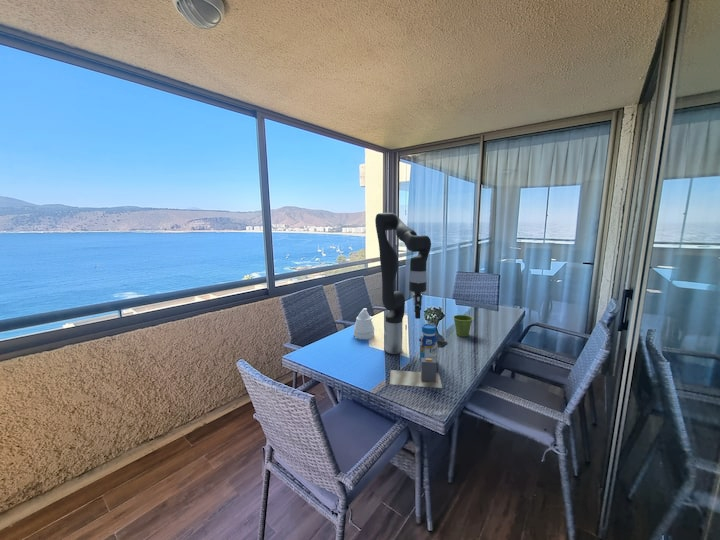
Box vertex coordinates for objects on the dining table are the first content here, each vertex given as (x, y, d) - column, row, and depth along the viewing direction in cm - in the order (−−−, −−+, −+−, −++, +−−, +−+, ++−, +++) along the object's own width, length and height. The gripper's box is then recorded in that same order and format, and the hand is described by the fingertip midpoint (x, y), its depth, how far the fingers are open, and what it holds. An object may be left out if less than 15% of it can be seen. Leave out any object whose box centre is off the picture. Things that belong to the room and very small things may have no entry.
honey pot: (377, 337, 178) (377, 309, 175) (358, 341, 173) (357, 312, 170) (369, 330, 190) (369, 304, 187) (350, 333, 185) (350, 306, 182)
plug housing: (421, 381, 126) (422, 360, 124) (420, 376, 130) (421, 356, 128) (435, 382, 125) (436, 361, 123) (434, 377, 129) (435, 357, 127)
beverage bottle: (424, 358, 150) (425, 321, 147) (439, 363, 145) (441, 325, 141) (416, 364, 143) (417, 326, 140) (432, 370, 138) (433, 330, 135)
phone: (424, 335, 178) (447, 341, 169) (424, 337, 179) (447, 343, 169) (418, 339, 173) (441, 346, 163) (418, 341, 173) (441, 348, 163)
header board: (389, 387, 124) (389, 377, 123) (390, 373, 136) (390, 364, 135) (442, 391, 121) (442, 381, 120) (438, 376, 133) (439, 367, 132)
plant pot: (469, 331, 186) (470, 314, 184) (474, 338, 175) (475, 321, 173) (450, 331, 187) (451, 314, 186) (454, 338, 176) (455, 320, 174)
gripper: (409, 277, 136) (408, 310, 139) (409, 283, 123) (409, 320, 125) (425, 277, 135) (424, 310, 138) (427, 283, 121) (426, 320, 124)
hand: (417, 315), depth 132 cm, fingers open, 8 cm apart
